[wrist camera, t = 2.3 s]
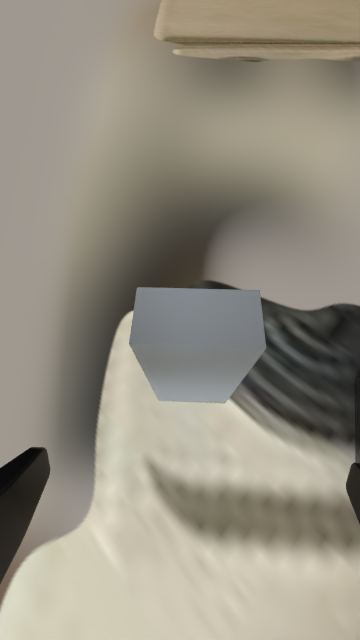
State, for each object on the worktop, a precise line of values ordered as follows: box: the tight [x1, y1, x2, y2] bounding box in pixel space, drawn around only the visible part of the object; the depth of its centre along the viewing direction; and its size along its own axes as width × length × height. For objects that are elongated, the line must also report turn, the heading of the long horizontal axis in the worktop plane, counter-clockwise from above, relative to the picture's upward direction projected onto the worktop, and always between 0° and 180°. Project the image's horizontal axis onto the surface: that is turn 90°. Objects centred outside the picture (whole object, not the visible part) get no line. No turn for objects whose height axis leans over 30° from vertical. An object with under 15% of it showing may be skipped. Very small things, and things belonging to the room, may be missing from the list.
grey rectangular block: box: [129, 287, 266, 403], centre depth 15 cm, size 3×5×12 cm, turn 87°
